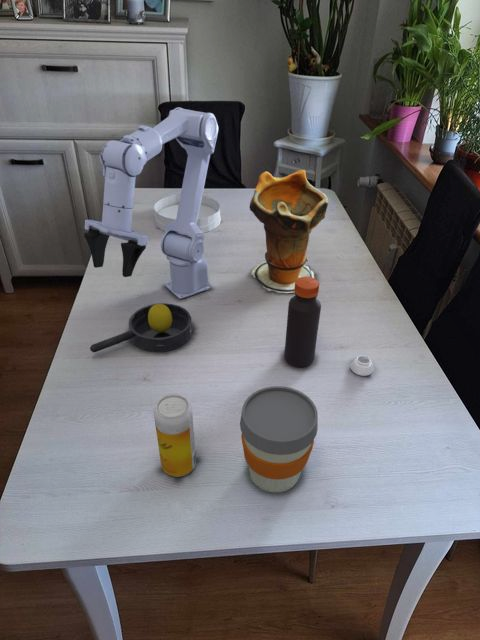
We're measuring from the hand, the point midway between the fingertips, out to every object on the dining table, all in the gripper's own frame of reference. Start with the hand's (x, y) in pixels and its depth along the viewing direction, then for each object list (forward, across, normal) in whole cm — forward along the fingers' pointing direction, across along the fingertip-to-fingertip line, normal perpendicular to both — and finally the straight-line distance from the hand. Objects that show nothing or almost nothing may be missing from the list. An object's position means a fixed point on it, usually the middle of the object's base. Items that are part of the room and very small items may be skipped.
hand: (112, 271), depth 102 cm
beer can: (+25, +32, -17) cm, 44 cm away
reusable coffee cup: (+23, +47, -11) cm, 54 cm away
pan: (+15, +6, +12) cm, 20 cm away
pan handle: (+17, +1, +1) cm, 17 cm away
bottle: (+12, +39, +18) cm, 45 cm away
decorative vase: (+2, +22, +47) cm, 52 cm away
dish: (-4, -22, +65) cm, 69 cm away
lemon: (+15, +6, +12) cm, 20 cm away
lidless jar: (+11, +53, +21) cm, 58 cm away
